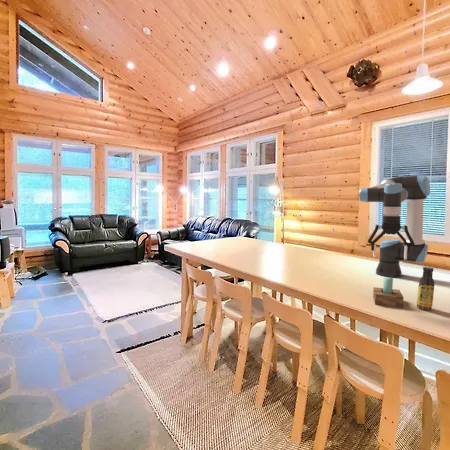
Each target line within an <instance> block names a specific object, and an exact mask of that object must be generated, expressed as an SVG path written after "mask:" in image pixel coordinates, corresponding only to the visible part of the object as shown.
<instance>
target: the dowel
mask: <svg viewBox="0 0 450 450" xmlns="http://www.w3.org/2000/svg"><path fill="white" fill-rule="evenodd" d="M393 282H394V279H393V277H386V276H384V277H383V284H382V285H383V287H382V288H383V293H385V294H392V289H393V285H394V283H393Z"/></svg>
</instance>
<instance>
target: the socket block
mask: <svg viewBox="0 0 450 450" xmlns="http://www.w3.org/2000/svg"><path fill="white" fill-rule="evenodd" d="M372 289H373V291H372V299H373V302H374V305H377V306H378V305H379V306H387V307H396V308H404V296H403V294H402V292H401V290H400V289H395V288H394V289H393V288H392V294H385V293H383V287H373V288H372Z"/></svg>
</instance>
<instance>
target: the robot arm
mask: <svg viewBox="0 0 450 450" xmlns="http://www.w3.org/2000/svg"><path fill="white" fill-rule="evenodd" d="M430 195H431V185H430V180H429V178H428V176H426V175H407V176H406V175H405V176H395V177H391V178H388V179H384V180H383V181H382V182H381V183H379V184H376V185H375V186H372V187H362V188H360V189H359V192H358V198H359V201H360V202H361V203H362V202H363V203H383V208H382V209H383V210H382V214H383V216H382V224H380V225H379V224H375V228H374V229H373V231H372V233H371V234H370V236H369V237H368V240H367V243H368V244H370V248H371V249H370V250H371V252H373V253H372V255H373V258H376V255H377V254H376V253H377V244H376V243H377V242H378V241H379V240H380V239H381V238H382V237H383V236H384V235H392V236H393V235H397V236H398V237H399V238H400V239H401V240H400V239H385V240H381V241H380V245H379V259H378V264H377V267H376V268H375V274H376V275H379V276H382V277H388V278H400V277H402V275H403V274H402V273H403V272H402V269H401V265H400V261H403V262H411V263H419V264H421V263H424V262H425V261H426V258H427V254H428V251H429V245H428V244H426V241H425V240H424V239H423V230H424V228H423V227H424V201H425V200H427V199H428V196H430ZM405 201H406V224H405V225H401V214H402V212H401V211H402V203H403V202H405ZM380 229H382V231H381V232H380V233H379V234H378V235H377V236H376V234H377V232H378V231H379V230H380ZM401 229H402V231H404V232H405V233H404V234H405V237H404V236H403V235H402V233H401V232H400V230H401ZM375 236H376V237H375ZM374 237H375V238H374ZM401 241H403V242H401Z"/></svg>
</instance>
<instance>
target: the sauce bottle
mask: <svg viewBox="0 0 450 450" xmlns="http://www.w3.org/2000/svg"><path fill="white" fill-rule="evenodd" d="M433 273H434V267H432V266H423V267H422V276H421V277H420V279H419V281H418V287H417V288H418V289H417V297H416V307H417V308H418V309H420V310H422V311H431V310H432V307H433V302H434V293H435V280H434V279H433Z"/></svg>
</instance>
